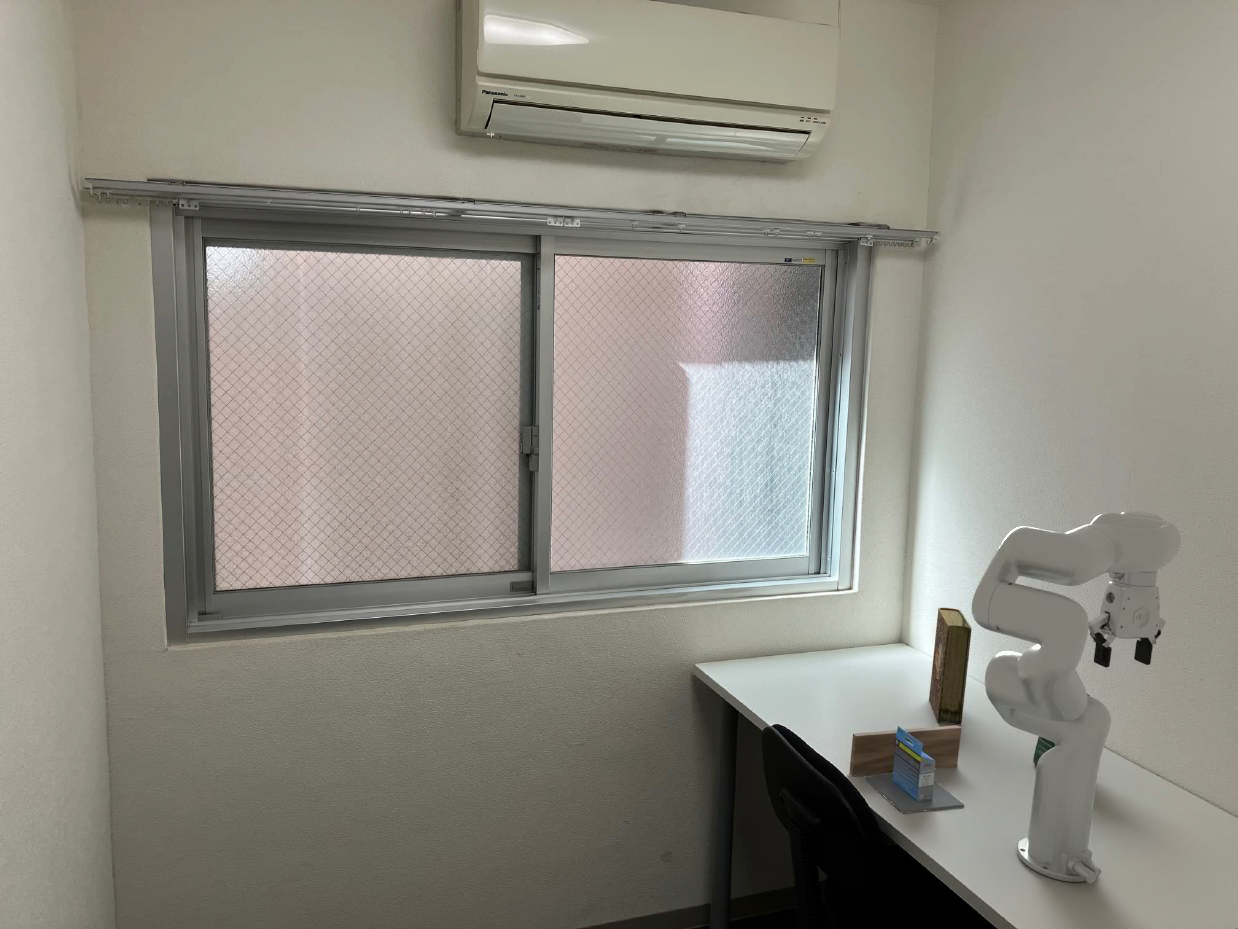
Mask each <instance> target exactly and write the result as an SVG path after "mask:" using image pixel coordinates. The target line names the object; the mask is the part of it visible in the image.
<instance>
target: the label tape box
mask: <svg viewBox="0 0 1238 929" xmlns="http://www.w3.org/2000/svg"><path fill="white" fill-rule="evenodd" d="M896 730H897V733H896V740H895V754H894V766H893V773H892V774H893V779H892V781H893V782H894V783H896V784H897V785H898V786H899V787H901V788H902V789H903V790H905V791H906V792H907V793H908V794H910V795H911V796H912V797H913V798H914V799H916V800H917V801H926V800H931V799H933V787H934V781H935V771H936V769H935V760H934V759H932V758H931V757H929V756H928V755H927V754H925V753H924V752H922V747H923V744H922V743H921V742H919V741H918V740H916V739H915V738H914V737H912V736H911V735H910V734H909V733H907V732H906V731H904V730H905V729H903V728H902V727H901V726H899V725H897V729H896ZM905 737H906V738H907V739H908V738H909V739H910V741H911V742H912V743H913V744H911V743H910V742H908V741H905V739H904V738H905Z"/></svg>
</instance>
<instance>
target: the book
mask: <svg viewBox="0 0 1238 929" xmlns="http://www.w3.org/2000/svg"><path fill="white" fill-rule="evenodd" d="M972 631H973V630H972V626H971V625H970V623H969V621H968V619H966V617H965V615H964V614H963V611H961V609H956V608H951V607H938V608H937V618H936V627H935V636H934V647H933V658H932V659H933V660H932V668H931V676H930V685H929V686H930V687H929V696H928V701H929V704H930V708H931V711H932V712H933V715H934V717H935V720H936V722H937V723H943V722H945V723H953V724H955V725H958V726H962V722H963V715H964V714H963V713H964V707H965V706H964V703H965V695H966V687H967V675H968V667H969V657H970V649H971V648H970V646H971V641H972V640H971V638H972Z"/></svg>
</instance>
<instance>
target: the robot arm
mask: <svg viewBox="0 0 1238 929" xmlns="http://www.w3.org/2000/svg"><path fill="white" fill-rule="evenodd" d="M1181 544H1182V536H1181V532H1180V530H1179V528H1178V527H1177V526H1176V525H1175V523H1172V522H1169V521H1165V520H1164V519H1163V517H1162V516H1161V515H1159V514H1156V513H1153V512H1152V513H1151V512H1146V511H1139V510H1127V511H1123V512H1121V513H1117V512H1103V513H1101V514H1099V515H1097V516H1095V517H1094V518H1093V520H1092V521H1091V522H1090V524H1089V523H1088V524H1084V525H1082V526H1079V527H1077V528H1074V529H1072V530H1069V531H1066V532H1059V531H1053V530H1048V529H1041V528H1037V527H1031V526H1026V525H1025V526H1024V525H1022V526H1018V527H1016V528H1014V529H1012V530H1011V531H1010V532H1009V533H1008V534H1007V535H1006V536H1005V538H1004V539H1003V541H1002V542H1001V543H1000V544H999V546H998V547H997V549H996V551H995V553H994V554H993V556H992V558H991V560H990V563H989V564H988V565H987V566H988V567H987V568H986V570H985V572H984V574H983V575H982V576H981V577H982V578H981V579H980V582H979V583H978V585H977V588H976V589H975V592H974V594H973V597H972V601H971V614H972V617H973V620H974V621H975V623H976V624H977V625H979V626H980V627H982V628H983V629H985V630H988V631H991V632H993V633H997V634H1001V635H1005V636H1008V637H1013V638H1016V639H1019V640H1022V641H1026V642H1030V643H1034V645H1033V646H1031V647H1030V648H1028V649H1027V650H1025V651H1024V652H1023V653H1020V652H1017V651H1012V650H1011V651H1010V650H1004V651H1000V652H998V653H997V654H995V655H994V656H993V657H992V658H991V659H990V660H989V662H988V664H987V666H986V669H985V674H984V689H985V693H986V695H987V699H988V700H989V701H990V703H991V705H992V706H993V707H994V710H996V712H997V713H998V714H999V716H1000V717H1001V718H1002V719H1003V721H1004V722H1005V723H1006V724H1008V725H1009V726H1011V727H1013V728H1015V729H1017V730H1020V731H1023V732H1025V733H1029V734H1031V735H1034V736H1037V737H1039V736H1040V737H1042V738H1045V739H1047V740H1050V741H1052V742H1054V743H1055V747H1053V748H1052V749H1050V750H1048V751H1047V752H1045V753H1044V754H1043V755H1042V756H1041V757H1040V759H1039V760H1038V763H1037V767H1035V768H1036V769H1035V779H1034V787H1033V794H1032V803H1031V810H1030V811H1031V812H1030V818H1029V827H1028V835H1027V837H1025V838H1022V839H1021V840H1019V841H1018V843H1017V844H1016V845H1017V846H1016V854H1017V856H1018V858H1019V859H1020V860H1021V861H1022V862H1023V863H1024V864H1025V865H1026V866H1027V867H1028V868H1030V869H1031V870H1033V871H1035V872H1037V873H1039V874H1040V875H1041V874H1042V875H1043V876H1046V877H1048V878H1051V879H1055V880H1058V881H1062V882H1063V881H1064V882H1071V883H1080V882H1082V883H1083V882H1087V884H1093V883H1095V882H1096V880H1097V877H1099V876H1101V874H1102V869H1101V868H1099V867H1098V866H1097V865H1096V864H1095V862H1094V859H1092V857H1093V851H1092V850H1090V849H1089V842H1090V841H1089V840H1090V835H1091V834H1090V832H1091V825H1092V818H1093V812H1094V804H1095V796H1096V788H1097V781H1098V774H1099V767H1100V762H1101V757H1102V755H1103V752H1104V747H1105V745H1106V742H1107V738H1108V735H1109V732H1110V728H1111V724H1112V723H1111V722H1112V716H1111V712H1110V710H1109V709H1108V708H1107V707H1108V706H1106V705H1105V704H1104V703H1103V702H1101V701H1100V700H1098V699H1097V698H1094V697H1093V696H1091V695H1090V696H1088V695H1089V694H1088V693H1087V689H1086V687H1085V685H1084V683H1083V681H1082V679H1081V677H1080V675H1079V674H1078V671H1077V669H1078V668H1077V667H1078V666H1079V663H1080V661H1081V659H1082V656H1083V653H1084V650H1085V646H1086V643H1087V639H1088V635H1089V634H1090V636H1091V638H1092V641H1093V643H1095V648H1094V654H1093V663H1094V664H1097V665H1099V666H1101V667H1104V668H1109V667H1110V665H1111V658H1112V649H1113V648H1112V647H1111V644H1112V643H1113V642H1114V641H1115V639H1116V638H1118V639H1121V640H1126V639H1127V640H1128V639H1129V640H1130V639H1136V642H1135V650H1134V656H1133V658H1134V660H1135V661H1136V662H1139V663H1141V664H1144V665H1146V666H1149V665H1151V662H1152V654H1153V648H1154V647H1153V646H1154V645H1156V644H1157V639H1158V638H1159V637H1160V636H1161V634H1162V631H1163V629H1164V627H1165V625H1166V620H1165V619H1163V618H1162V617H1160V611H1161V609H1160V608H1161V605H1160V604H1161V602H1160V601H1161V598H1160V597H1161V595H1160V589H1159V586H1158V585H1157V579H1158V572H1159V570H1161V569H1163V568H1164V567H1166V566H1167V565H1169V564H1171V563H1172V561H1174V559H1175V558H1176V557H1177V555H1178V554H1179V552H1180V549H1181V546H1182V545H1181ZM1105 573H1106V574H1108V577H1109V581H1108V582H1107V584H1106V588H1105V590H1104V593H1103V598H1102V602H1101V607H1100V613H1099V615H1098V616H1097V617H1095V618H1093V619H1092V620H1090V621H1089V617H1088V613H1087V612H1086V610H1085V609H1084V607H1083V606H1082V605H1081V604H1080V603H1079V602H1077V600H1074V599H1073V598H1071V597H1069V596H1066V595H1063V594H1060V593H1057V592H1053V591H1049V590H1044V589H1041V588H1036V587H1032V586H1029V585H1028V586H1027V585H1024V584H1020V583H1016V582H1017V580H1018V578H1019V577H1024V578H1028V579H1032V580H1037V581H1041V582H1045V583H1048V584H1049V583H1050V584H1055V585H1059V586H1064V587H1065V586H1066V587H1077V586H1081V585H1083V584H1086V583H1089V581H1092V580H1093V579H1095V578H1097V577H1099V576H1102V575H1104V574H1105ZM1105 636H1106V637H1105ZM1087 694H1088V695H1087Z"/></svg>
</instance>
